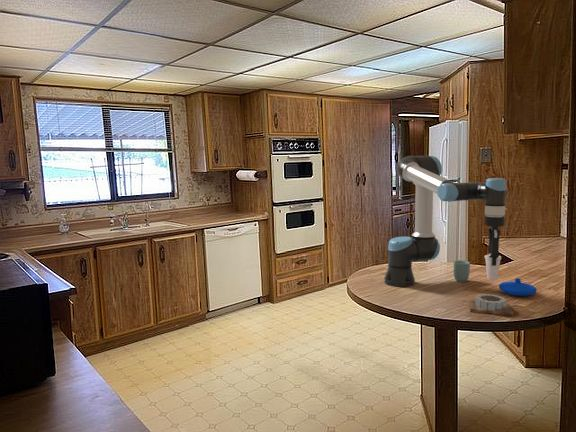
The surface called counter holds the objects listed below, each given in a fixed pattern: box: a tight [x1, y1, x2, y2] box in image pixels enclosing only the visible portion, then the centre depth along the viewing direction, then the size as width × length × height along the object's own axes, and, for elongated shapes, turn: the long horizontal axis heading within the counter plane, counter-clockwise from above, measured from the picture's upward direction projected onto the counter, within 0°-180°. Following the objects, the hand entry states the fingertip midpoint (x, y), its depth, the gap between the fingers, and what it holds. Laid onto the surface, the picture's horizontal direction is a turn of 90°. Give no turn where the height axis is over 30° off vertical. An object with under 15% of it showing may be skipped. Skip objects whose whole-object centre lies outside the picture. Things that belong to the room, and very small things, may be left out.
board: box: [468, 299, 514, 316], centre depth 184 cm, size 16×12×1 cm
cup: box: [453, 260, 471, 283], centre depth 226 cm, size 8×8×10 cm
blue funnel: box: [498, 278, 537, 297], centre depth 204 cm, size 16×16×7 cm
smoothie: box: [484, 254, 502, 281], centre depth 182 cm, size 6×6×14 cm
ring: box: [474, 293, 507, 311], centre depth 184 cm, size 12×12×4 cm
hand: (492, 270), depth 182 cm, fingers closed on smoothie, 6 cm apart
